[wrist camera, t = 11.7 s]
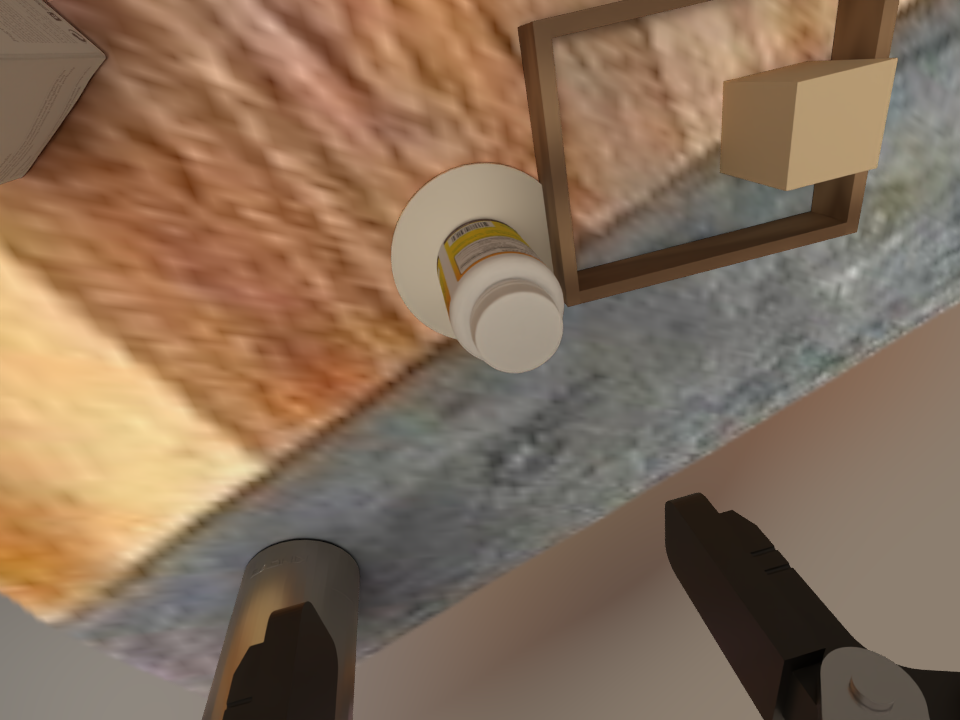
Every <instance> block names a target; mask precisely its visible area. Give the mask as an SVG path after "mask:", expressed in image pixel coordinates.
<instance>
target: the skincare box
mask: <svg viewBox="0 0 960 720" xmlns="http://www.w3.org/2000/svg"><path fill="white" fill-rule="evenodd" d="M105 58H106V56H105V54H104V53H103V52H102V51H100V50H99V49H98V48H97V47H96V46H95V45H94V44H92V43H91V42H90V41H89V40H88V39H87V38H85V37H84V36H83V35H82V34H81V33H80V32H78V31H77V30H76V29H75V28H74V27H73V26H71V25H70V24H69V23H68V22H67V21H66V20H65V19H63V18H62V17H61V16H60V15H59V14H58V13H56V12H55V11H54V10H53V9H52V8H51V7H49V6H48V5H47V4H46V3H45V2H43V1H42V0H0V184H3V183H6V182H9V181H12V180H15V179H18V178H22V177H23V176H24V175H25V174H26V172H27V171H28V170H29V169H30V167H31V166H32V164H33V163H34V161H35V160H36V159H37V157H38V156H39V154H40V153H41V151H42V150H43V148H44V147H45V146H46V144H47V143H48V142H49V140H50V139H51V137H52V136H53V135H54V133H55V132H56V130H57V129H58V127H59V126H60V125H61V123H62V122H63V120H64V119H65V117H66V116H67V114H68V113H69V112H70V110H71V109H72V107H73V106H74V104H75V103H76V101H77V100H78V98H79V97H80V95H81V93H82V92H83V90H84V88H85V87H86V85H87V83H88V81H89V80H90V78H91V77H92V76H93V74H94V73H95V72H96V70H97V69H98V68H99V66H100V65H101V64H102V63H103V61H104V60H105Z"/></svg>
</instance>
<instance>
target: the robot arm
mask: <svg viewBox="0 0 960 720" xmlns="http://www.w3.org/2000/svg"><path fill="white" fill-rule="evenodd" d="M665 545H666V552H667V556H668V559H669V562H670V564H671V566H672V569H673V571H674V572H675V574H676V576H677V578H678V579H679V581H680V583H681V584H682V586H683V588H684V589H685V591H686V593H687V594H688V596H689V598H690V599H691V601H692V602H693V604H694V606H695V607H696V609H697V611H698V612H699V614H700V616H701V617H702V619H703V621H704V622H705V624H706V625H707V627H708V629H709V630H710V632H711V634H712V635H713V637H714V639H715V640H716V642H717V643H718V645H719V647H720V648H721V650H722V652H723V653H724V655H725V657H726V658H727V660H728V662H729V663H730V665H731V666H732V668H733V670H734V671H735V673H736V675H737V676H738V678H739V680H740V681H741V683H742V685H743V686H744V688H745V690H746V691H747V693H748V694H749V696H750V698H751V699H752V701H753V703H754V704H755V706H756V708H757V709H758V711H759V713H760V714H761V716H762V717H763V719H764V720H960V672H950V671H949V672H948V671H932V670H919V669H911V668H907V667H903V666H900V665H897V664H895V663H894V662H893V661H891V660H889V659H888V658H886V657H884V656H882V655H880V654H878V653H875V652H873V651H870V650H868V649H866V648H865V647H863V646H862V645H861V644H860V643H859V642H857V641H856V640H855V639H854V638H853V637H852V636H851V635H850V633H849V632H848V631H847V630H846V629H845V628H844V627H843V626H842V624H841V623H840V622H839V621H838V620H837V618H836V617H835V616H834V615H833V614H832V613H831V611H830V610H829V609H828V608H827V607H826V606H825V605H824V603H823V602H822V601H821V600H820V599H819V598H818V596H817V595H816V594H815V593H814V592H813V591H812V589H811V588H810V587H809V586H808V585H807V584H806V582H805V581H804V580H803V579H802V578H801V577H800V575H799V574H798V573H797V572H796V571H795V570H794V568H791V567H790V565H789V563H788V561H787V560H786V559H785V558H784V557H783V556H782V555H781V553H780V552H779V551H778V550H775V548H774V545H773V544H772V543H771V542H770V541H769V539H768V538H767V537H766V536H765V535H764V534H763V533H762V531H761V530H760V529H759V528H758V527H757V525H755V524H753V523H752V522H750V521H749V520H747V519H746V518H744V517H742V516H741V515H739V514H738V513H736V512H735V511H733V510H730V511H727V512H723V513H718V512H717V510H716V509H715V508H714V507H713V506H712V504H711V503H710V502H709V501H708V499H707V498H706V497H705V496H704V495H703V494H701V493H694V494H691V495H688V496H684V497H681V498H677V499H674V500H670V501H667V502H666V504H665ZM359 587H360V573H359V568H358V566H357V564H356V562H355V560H354V559H353V558H352V557H351V556H350V555H349V554H348V553H347V552H345V551H344V550H342V549H341V548H338V547H336V546H334V545H332V544H328V543H325V542H321V541H313V540H293V541H288V542H283V543H279V544H276V545H274V546H271V547H268V548H267V549H265V550H263V551H261V552H260V553H258V554H257V555H256V556H255V557H254V558H253V559H251V561H250V562H249V564H248V565H247V567H246V569H245V572H244V575H243V578H242V582H241V585H240V589H239V592H238V595H237V599H236V602H235V606H234V609H233V613H232V615H231V619H230V622H229V626H228V629H227V633H226V636H225V640H224V644H223V647H222V651H221V654H220V658H219V661H218V665H217V668H216V672H215V675H214V679H213V682H212V686H211V689H210V693H209V696H208V700H207V703H206V707H205V710H204V714H203V717H202V720H353V703H354V683H355V663H356V643H357V623H358V608H359Z"/></svg>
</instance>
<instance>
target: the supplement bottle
mask: <svg viewBox="0 0 960 720" xmlns="http://www.w3.org/2000/svg"><path fill="white" fill-rule="evenodd" d="M437 275H438V279H439V283H440V286H441V290H442V294H443V297H444V301H445V305H446V308H447V312H448V316H449V320H450V323H451V326H452V329H453V332H454V334H455V336H456V338H457V340H458V341H459V343H460V344H461V345H462V347H463V348H464V349H465V350H467V351H468V352H469V353H470V354H472V355H473V356H475V357H477V358H479V359H481V360H483V361H485V362H486V363H487V364H489V365H490V366H491V367H493V368H495V369H497V370H500V371H503V372H507V373H521V372H526V371H529V370H532V369H535V368H537V367H539V366H540V365H542V364H543V363H545V362H546V361H547V360H548V359H549V358H550V357H551V356H552V355H553V354H554V353H555V351H556V350H557V348H558V346H559V344H560V341H561V339H562V334H563V321H562V318H563V313H564V298H563V293H562V289H561V286H560V284H559V282H558V280H557V278H556V277H555V275H554V274H553V273H552V272H551V270H550V269H549V268H548V267H547V266H546V265H545V264H544V263H543V261H542V260H541V259H540V258H539V257H538V256H537V255H536V253H535V252H534V251H533V250H532V249H531V248H530V247H529V245H528V244H527V243H526V242H525V241H524V240H523V239H522V238H521V236H520V235H519V234H518V233H517V232H516V231H515V230H514V229H513V228H511V227H510V226H509V225H507V224H505V223H503V222H501V221H498V220H495V219H488V218H479V219H474V220H470V221H467V222H465V223H463V224H461V225H459V226H458V227H456V228H455V229H454V230H452V231H451V232H450V233H449V235H448V236H447V237H446V238H445V240H444V241H443V243H442V245H441V247H440V249H439V252H438V256H437Z"/></svg>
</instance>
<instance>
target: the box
mask: <svg viewBox="0 0 960 720" xmlns="http://www.w3.org/2000/svg"><path fill="white" fill-rule="evenodd" d="M897 60H898V58H882V59H856V60H831V61H806V62H802V63H798V64H794V65H790V66H786V67H782V68H778V69H773V70H769V71H765V72H761V73H757V74H753V75H749V76H745V77H741V78H737V79H732V80H728V81H724V82H723V108H722V133H721V158H720V173H724V174H727V175H731V176H734V177H738V178H742V179H745V180H749V181H752V182H756V183H759V184H763V185H767V186H770V187H774V188H777V189H781V190H784V191H788V190H792V189H796V188H800V187H804V186H808V185H812V184H816V183H820V182H823V181H827V180H831V179H835V178H839V177H843V176H847V175H851V174H855V173H859V172H863V171H867V170H871V169H875V168H877V165H878V159H879V154H880V149H881V144H882V138H883V133H884V128H885V123H886V117H887V112H888V107H889V102H890V97H891V91H892V86H893V81H894V76H895V70H896V65H897Z"/></svg>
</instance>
